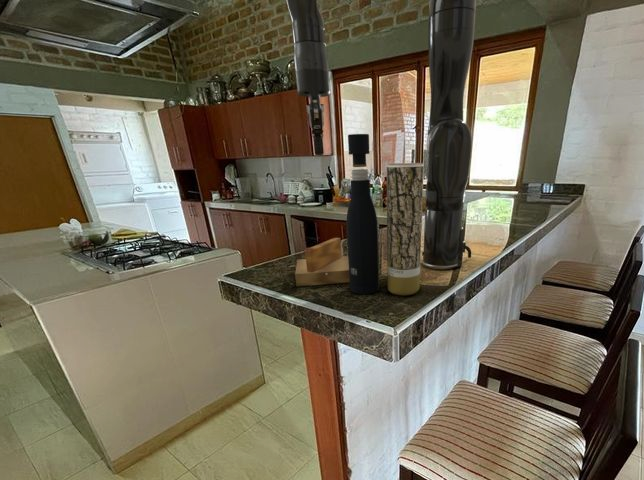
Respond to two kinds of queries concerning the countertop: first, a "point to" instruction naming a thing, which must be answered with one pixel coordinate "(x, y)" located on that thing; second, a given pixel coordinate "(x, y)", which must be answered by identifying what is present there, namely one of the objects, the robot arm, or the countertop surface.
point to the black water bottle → (362, 223)
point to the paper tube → (404, 226)
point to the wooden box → (323, 273)
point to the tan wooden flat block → (323, 254)
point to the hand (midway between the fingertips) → (319, 155)
